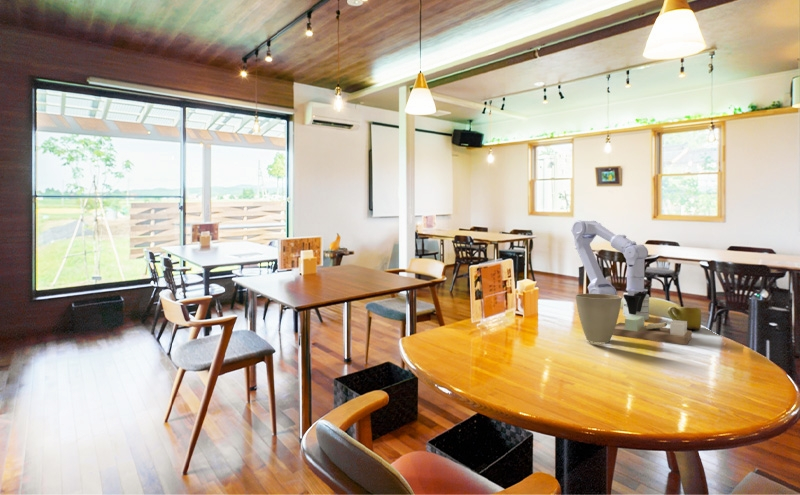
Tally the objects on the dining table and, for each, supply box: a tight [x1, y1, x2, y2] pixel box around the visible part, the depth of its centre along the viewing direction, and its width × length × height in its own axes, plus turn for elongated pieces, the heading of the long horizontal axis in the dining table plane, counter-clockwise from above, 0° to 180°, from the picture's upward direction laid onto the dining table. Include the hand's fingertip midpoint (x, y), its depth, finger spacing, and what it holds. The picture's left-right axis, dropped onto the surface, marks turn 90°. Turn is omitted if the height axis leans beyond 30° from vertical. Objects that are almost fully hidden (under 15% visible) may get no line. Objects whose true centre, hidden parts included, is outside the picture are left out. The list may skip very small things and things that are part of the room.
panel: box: [612, 322, 693, 346], centre depth 160 cm, size 24×14×4 cm, turn 50°
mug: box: [667, 306, 702, 331], centre depth 169 cm, size 12×10×10 cm
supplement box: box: [622, 292, 650, 321], centre depth 185 cm, size 7×7×13 cm
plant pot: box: [575, 293, 623, 344], centre depth 152 cm, size 15×15×16 cm
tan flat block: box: [645, 321, 668, 329], centre depth 158 cm, size 6×5×1 cm
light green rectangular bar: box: [624, 315, 645, 331], centre depth 162 cm, size 4×12×4 cm, turn 140°
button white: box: [669, 320, 688, 336], centre depth 153 cm, size 4×8×4 cm, turn 140°
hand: (634, 312), depth 162 cm, fingers open, 7 cm apart
